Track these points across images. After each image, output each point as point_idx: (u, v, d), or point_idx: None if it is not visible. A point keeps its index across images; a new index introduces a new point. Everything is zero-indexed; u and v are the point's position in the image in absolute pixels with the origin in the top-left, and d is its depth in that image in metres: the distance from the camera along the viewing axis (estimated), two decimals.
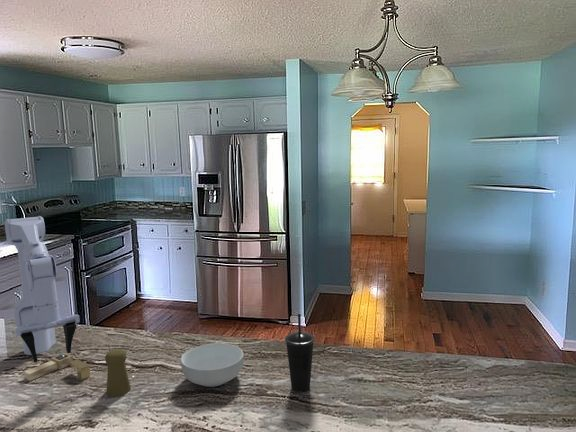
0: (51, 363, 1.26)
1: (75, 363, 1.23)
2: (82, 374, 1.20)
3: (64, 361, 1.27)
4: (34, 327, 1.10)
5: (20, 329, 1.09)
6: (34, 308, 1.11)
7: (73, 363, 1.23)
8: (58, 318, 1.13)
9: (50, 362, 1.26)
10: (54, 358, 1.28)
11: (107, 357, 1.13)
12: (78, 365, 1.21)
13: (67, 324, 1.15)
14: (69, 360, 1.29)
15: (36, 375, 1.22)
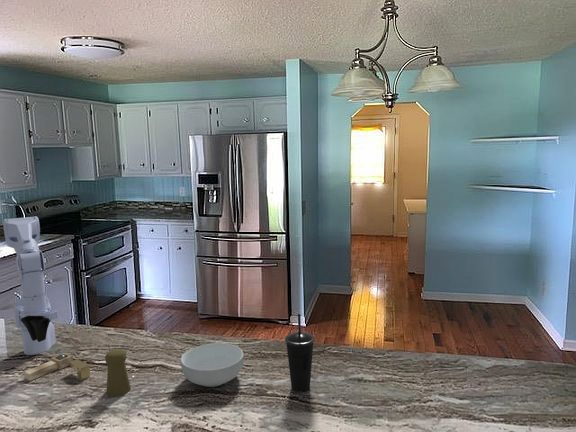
0: (51, 363, 1.26)
1: (75, 363, 1.23)
2: (82, 374, 1.20)
3: (64, 361, 1.27)
4: (21, 311, 1.25)
5: (17, 309, 1.27)
6: None
7: (73, 363, 1.23)
8: (35, 310, 1.23)
9: (50, 362, 1.26)
10: (54, 358, 1.28)
11: (107, 357, 1.13)
12: (78, 365, 1.21)
13: (37, 317, 1.24)
14: (69, 360, 1.29)
15: (36, 375, 1.22)
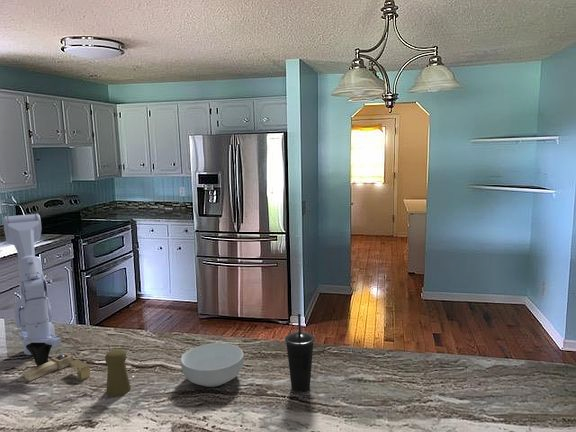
0: (51, 363, 1.26)
1: (75, 363, 1.23)
2: (82, 374, 1.20)
3: (64, 361, 1.27)
4: (24, 338, 1.25)
5: (20, 335, 1.27)
6: None
7: (73, 363, 1.23)
8: (39, 337, 1.23)
9: (50, 362, 1.26)
10: (54, 358, 1.28)
11: (107, 357, 1.13)
12: (78, 365, 1.21)
13: (38, 343, 1.24)
14: (69, 360, 1.29)
15: (36, 375, 1.22)
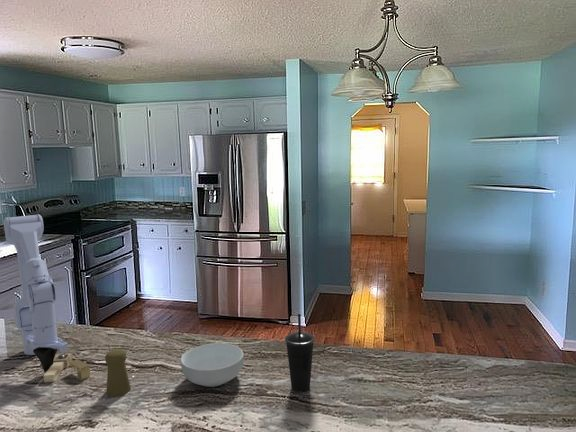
0: (59, 363, 1.26)
1: (75, 363, 1.23)
2: (82, 374, 1.20)
3: (69, 359, 1.29)
4: (30, 342, 1.22)
5: (27, 338, 1.24)
6: None
7: (73, 363, 1.23)
8: (45, 342, 1.20)
9: (56, 363, 1.26)
10: (56, 359, 1.27)
11: (107, 357, 1.13)
12: (78, 365, 1.21)
13: (44, 347, 1.22)
14: (70, 358, 1.30)
15: (56, 375, 1.21)
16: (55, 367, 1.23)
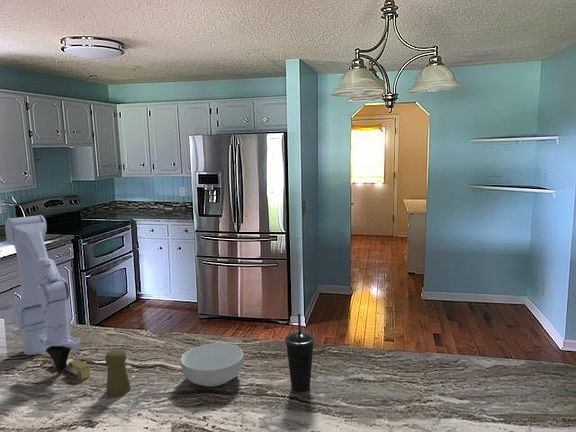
0: (70, 360, 1.27)
1: (75, 363, 1.23)
2: (82, 374, 1.20)
3: None
4: (43, 341, 1.23)
5: (39, 338, 1.25)
6: None
7: (73, 363, 1.23)
8: (59, 341, 1.21)
9: None
10: None
11: (107, 357, 1.13)
12: (78, 365, 1.21)
13: (57, 346, 1.22)
14: None
15: None
16: None
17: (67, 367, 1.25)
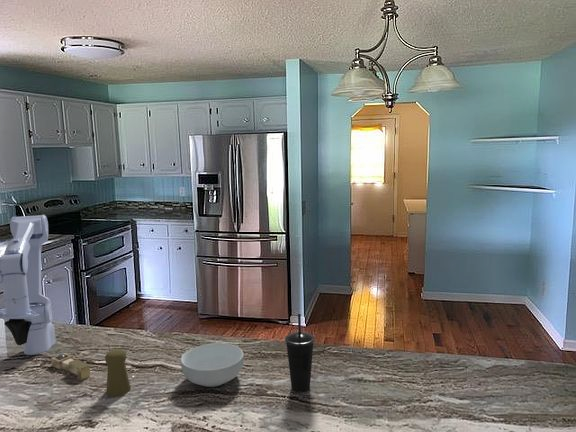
0: (70, 360, 1.27)
1: (75, 363, 1.23)
2: (82, 374, 1.20)
3: None
4: (3, 314, 1.21)
5: None
6: None
7: (73, 363, 1.23)
8: (17, 313, 1.19)
9: (66, 361, 1.27)
10: (61, 359, 1.27)
11: (107, 357, 1.13)
12: (78, 365, 1.21)
13: (17, 319, 1.21)
14: None
15: None
16: None
17: (67, 367, 1.25)
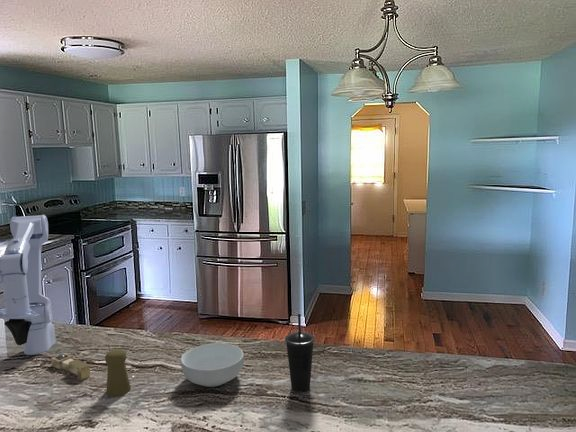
0: (70, 360, 1.27)
1: (75, 363, 1.23)
2: (82, 374, 1.20)
3: None
4: (3, 314, 1.21)
5: None
6: None
7: (73, 363, 1.23)
8: (17, 313, 1.19)
9: (66, 361, 1.27)
10: (61, 359, 1.27)
11: (107, 357, 1.13)
12: (78, 365, 1.21)
13: (17, 319, 1.21)
14: None
15: None
16: None
17: (67, 367, 1.25)
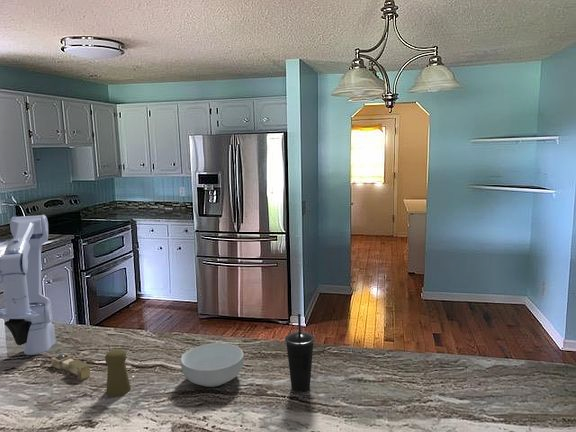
0: (70, 360, 1.27)
1: (75, 363, 1.23)
2: (82, 374, 1.20)
3: None
4: (3, 314, 1.21)
5: None
6: None
7: (73, 363, 1.23)
8: (17, 313, 1.19)
9: (66, 361, 1.27)
10: (61, 359, 1.27)
11: (107, 357, 1.13)
12: (78, 365, 1.21)
13: (17, 319, 1.21)
14: None
15: None
16: None
17: (67, 367, 1.25)
